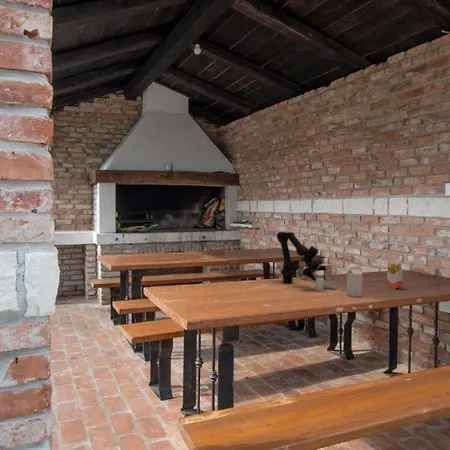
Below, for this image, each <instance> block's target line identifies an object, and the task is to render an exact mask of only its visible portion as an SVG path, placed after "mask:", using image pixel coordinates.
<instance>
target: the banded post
mask: <svg viewBox="0 0 450 450" xmlns="http://www.w3.org/2000/svg"><path fill="white" fill-rule="evenodd" d="M315 277H316V281H314V282H315V284H314V285H315V288H314V289H315V292H319V291H322V292H324V289H323V287H324V284H325V283H324V281H325V280H324V271H323V270H316V275H315Z"/></svg>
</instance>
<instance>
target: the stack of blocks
mask: <svg viewBox="0 0 450 450" xmlns="http://www.w3.org/2000/svg"><path fill="white" fill-rule="evenodd" d="M320 266H326V268H327V269H326V270H325V278H326V279H325V280H324V281H331V280H332V264H330V263H322V264H321V265H319V267H320ZM319 267H317V268H319ZM305 268H307V267H306V266H303V270H304V269H305ZM303 270H302V271H303ZM313 275H314V277H315V275H316V272H313ZM302 276H303V280H307V281H308V280H309V281H314V280H313V279H311V278H309V277H307V276H305V275H303V274H302ZM315 278H316V277H315Z"/></svg>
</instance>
